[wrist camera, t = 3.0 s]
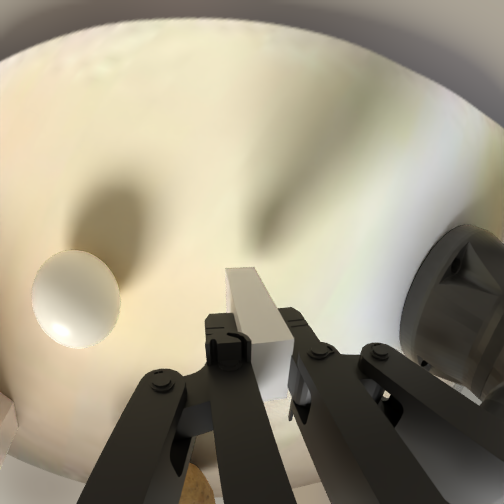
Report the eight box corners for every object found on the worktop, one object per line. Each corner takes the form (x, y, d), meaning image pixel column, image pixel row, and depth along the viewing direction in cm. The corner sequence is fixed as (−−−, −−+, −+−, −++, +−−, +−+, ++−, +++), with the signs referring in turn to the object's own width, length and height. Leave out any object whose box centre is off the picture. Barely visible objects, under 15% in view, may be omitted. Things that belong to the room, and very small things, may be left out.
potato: (163, 414, 19) (160, 491, 12) (229, 473, 24) (239, 526, 16) (87, 427, 19) (71, 488, 11) (161, 484, 23) (162, 532, 16)
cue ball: (124, 237, 15) (90, 268, 10) (136, 318, 16) (116, 372, 11) (51, 241, 14) (3, 269, 9) (67, 316, 15) (34, 362, 10)
